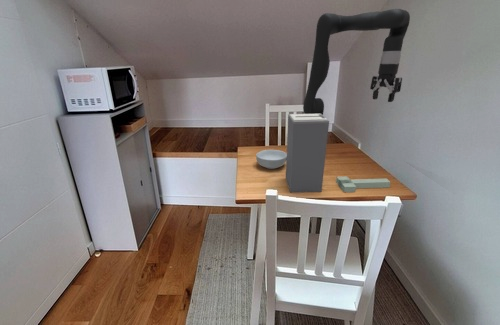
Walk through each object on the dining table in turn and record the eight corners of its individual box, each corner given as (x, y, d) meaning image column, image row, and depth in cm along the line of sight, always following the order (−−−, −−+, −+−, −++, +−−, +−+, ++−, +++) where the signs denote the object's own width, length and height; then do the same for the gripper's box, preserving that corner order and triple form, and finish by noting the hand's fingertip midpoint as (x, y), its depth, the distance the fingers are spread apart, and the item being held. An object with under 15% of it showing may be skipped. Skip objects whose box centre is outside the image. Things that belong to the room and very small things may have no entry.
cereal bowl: (291, 163, 137) (291, 151, 135) (279, 174, 124) (279, 162, 121) (264, 158, 145) (264, 147, 143) (250, 168, 132) (250, 156, 130)
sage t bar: (381, 181, 116) (382, 175, 115) (393, 191, 107) (394, 185, 106) (335, 182, 116) (336, 176, 115) (343, 192, 107) (344, 186, 105)
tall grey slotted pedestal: (313, 177, 120) (319, 112, 108) (321, 191, 107) (329, 119, 95) (285, 178, 120) (288, 113, 108) (290, 192, 107) (293, 120, 95)
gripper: (370, 62, 110) (364, 99, 117) (397, 63, 98) (389, 103, 104) (382, 62, 113) (376, 98, 119) (410, 62, 100) (402, 102, 107)
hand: (382, 100), depth 112 cm, fingers open, 8 cm apart
